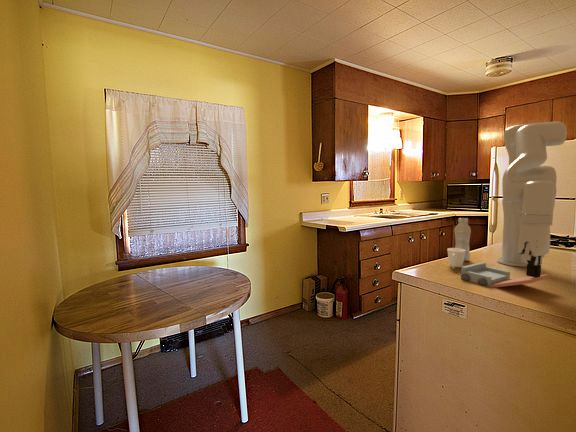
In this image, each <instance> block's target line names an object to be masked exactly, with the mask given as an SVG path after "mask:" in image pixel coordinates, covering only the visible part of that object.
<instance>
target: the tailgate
mask: <svg viewBox="0 0 576 432" xmlns="http://www.w3.org/2000/svg"><path fill="white" fill-rule="evenodd" d="M548 278H551V274H550V273H546V274H541V275H540V277H537V278H535V277H531V276H524V277H517V278H510V280H507V281H503V282H500V283H497V284H493V285H492V286H493V287H492V288H503V287H508V286H510V287H511V286H519V285H520V286H521V285H526V284H533V283H536V282H539V281H542V280H545V279H546V280H547V279H548Z"/></svg>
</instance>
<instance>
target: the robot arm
mask: <svg viewBox="0 0 576 432" xmlns="http://www.w3.org/2000/svg"><path fill="white" fill-rule="evenodd" d="M567 136H568V131H567V127H566V124H565V123H564V122H563V121H562V122H561V121H545V122H535V123H523V124H522V123H521V124H515V125H512V126H509V127H507V128H505V130H504V132H503V144H504V146H505V149H506V152H507V155H508V166H507V168H506V169H505V171H504V172H503V175H502V185H501V187H502V190H501V191H502V201H501V202H502V210H503V211H502V212H503V224H502V225H503V230H502V243H501V244H502V245H501V246H502V247H501V249H502V250H501V257H498V258H497V259H496V261H497V263H499V264H502V265H506V266H511V267H523V268H524V267H525V268H526V270H525V271H526V272H525V275H526V277H530V276H531V277H535V278H537V277H540V275H542V274H541V273H542V264H543V258H544V257H545V255H547V254H549V253H550V250H551V249H550V248H551V226H553V222H554V220H553V219H554V209H555V203H556V197H557V180H558V179H557V176H558V175H557V171H556V169H555V168H554V167H553V166H550V165H543V164H544V163H546V161H547V159H548V154H547V147H554V146H561V145H563V144H564V143H565V142H566V140H567Z"/></svg>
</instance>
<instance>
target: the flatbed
mask: <svg viewBox="0 0 576 432" xmlns="http://www.w3.org/2000/svg"><path fill="white" fill-rule="evenodd" d="M486 265H487V263H486V262H483V261H481V262H477V263H472V264H468V265H462V266H461V267H460V268H461V269H460V271H461V273H460V279H461V280H463V281H466V282H471V283H475V284H478V285H480V286H483V287H490V288H494V287H493V286H492V285H493V284H497V283H500V282H503V281H507V280H510V279H511V271H509V270H504V269H499V268H495V267H492V266H491V267H490V266H488V265H487V266H486Z"/></svg>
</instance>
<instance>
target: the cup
mask: <svg viewBox="0 0 576 432" xmlns="http://www.w3.org/2000/svg"><path fill="white" fill-rule="evenodd" d="M446 251H447V256H448V257H447V258H448V263H449V266H450V267H451V269H452V270H455V269H456V268H461V267H463V265H464V263H465V262H464V257H465V252H466V251H465V250H464V249H460V248H455V247H449V248H447V249H446Z"/></svg>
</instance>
